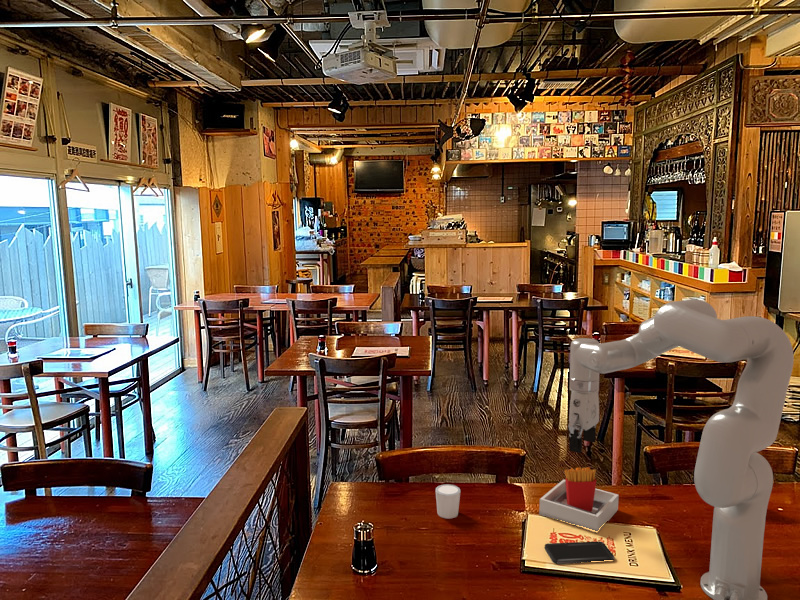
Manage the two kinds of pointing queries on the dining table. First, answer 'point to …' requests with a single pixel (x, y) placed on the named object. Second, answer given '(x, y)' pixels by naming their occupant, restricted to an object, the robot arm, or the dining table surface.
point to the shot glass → (447, 500)
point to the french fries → (580, 488)
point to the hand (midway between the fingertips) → (582, 446)
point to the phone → (578, 552)
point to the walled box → (557, 508)
